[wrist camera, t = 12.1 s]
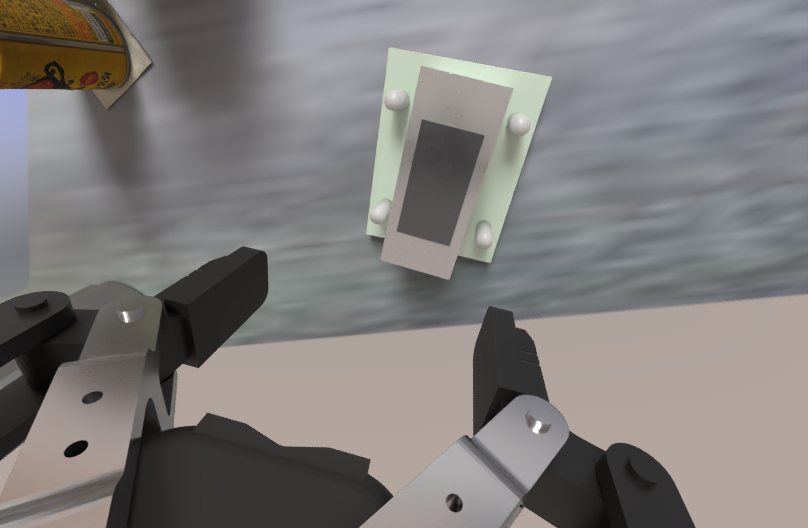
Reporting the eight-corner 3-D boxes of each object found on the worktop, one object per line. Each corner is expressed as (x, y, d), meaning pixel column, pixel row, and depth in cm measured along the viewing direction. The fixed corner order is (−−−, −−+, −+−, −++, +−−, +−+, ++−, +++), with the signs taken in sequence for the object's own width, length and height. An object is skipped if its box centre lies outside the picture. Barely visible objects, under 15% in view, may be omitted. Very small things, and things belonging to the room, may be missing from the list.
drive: (433, 71, 23) (420, 65, 18) (504, 89, 23) (513, 88, 17) (397, 229, 29) (379, 260, 23) (454, 245, 28) (449, 281, 23)
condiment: (108, 110, 31) (-84, 119, 20) (30, 12, 28) (-238, -35, 17) (154, 62, 28) (-41, 44, 17) (72, -51, 25) (-216, -153, 15)
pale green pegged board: (489, 255, 30) (491, 280, 26) (370, 227, 31) (355, 247, 27) (547, 77, 23) (562, 74, 19) (393, 49, 24) (377, 41, 20)
